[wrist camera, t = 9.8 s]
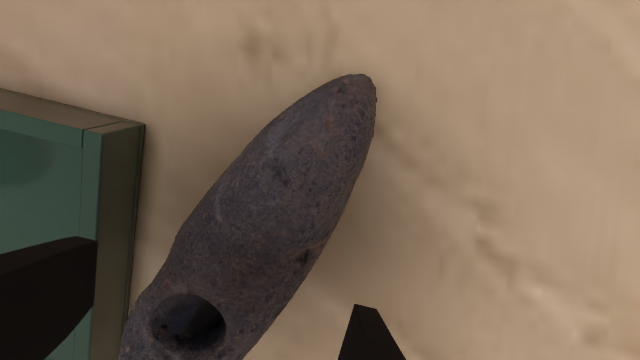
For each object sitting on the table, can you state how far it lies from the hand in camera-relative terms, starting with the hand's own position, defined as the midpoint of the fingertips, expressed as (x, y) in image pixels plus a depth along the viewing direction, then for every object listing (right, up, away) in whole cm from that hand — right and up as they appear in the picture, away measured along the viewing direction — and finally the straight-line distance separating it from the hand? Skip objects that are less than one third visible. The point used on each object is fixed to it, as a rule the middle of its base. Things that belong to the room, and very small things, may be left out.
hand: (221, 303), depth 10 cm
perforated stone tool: (0, +2, +8) cm, 9 cm away
